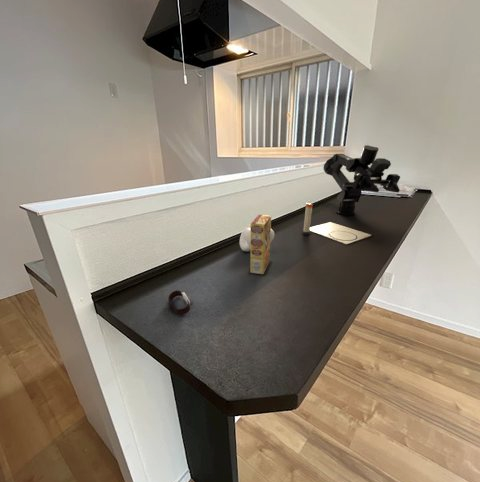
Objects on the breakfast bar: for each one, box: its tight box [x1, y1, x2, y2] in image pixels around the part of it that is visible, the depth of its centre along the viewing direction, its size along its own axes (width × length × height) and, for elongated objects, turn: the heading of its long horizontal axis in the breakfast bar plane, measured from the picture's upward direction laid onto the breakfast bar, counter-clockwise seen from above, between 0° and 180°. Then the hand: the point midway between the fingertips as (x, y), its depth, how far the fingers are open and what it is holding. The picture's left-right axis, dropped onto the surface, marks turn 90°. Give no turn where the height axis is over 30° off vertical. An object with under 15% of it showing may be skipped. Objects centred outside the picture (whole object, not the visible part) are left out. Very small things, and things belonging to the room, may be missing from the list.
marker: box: [302, 202, 314, 236], centre depth 103 cm, size 2×2×12 cm
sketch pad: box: [309, 221, 372, 245], centre depth 107 cm, size 20×16×1 cm
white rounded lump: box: [239, 223, 275, 253], centre depth 89 cm, size 11×12×9 cm
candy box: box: [250, 214, 272, 275], centre depth 77 cm, size 9×4×15 cm, turn 162°
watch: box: [167, 290, 191, 315], centre depth 61 cm, size 8×5×4 cm, turn 33°
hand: (388, 191), depth 101 cm, fingers open, 9 cm apart
